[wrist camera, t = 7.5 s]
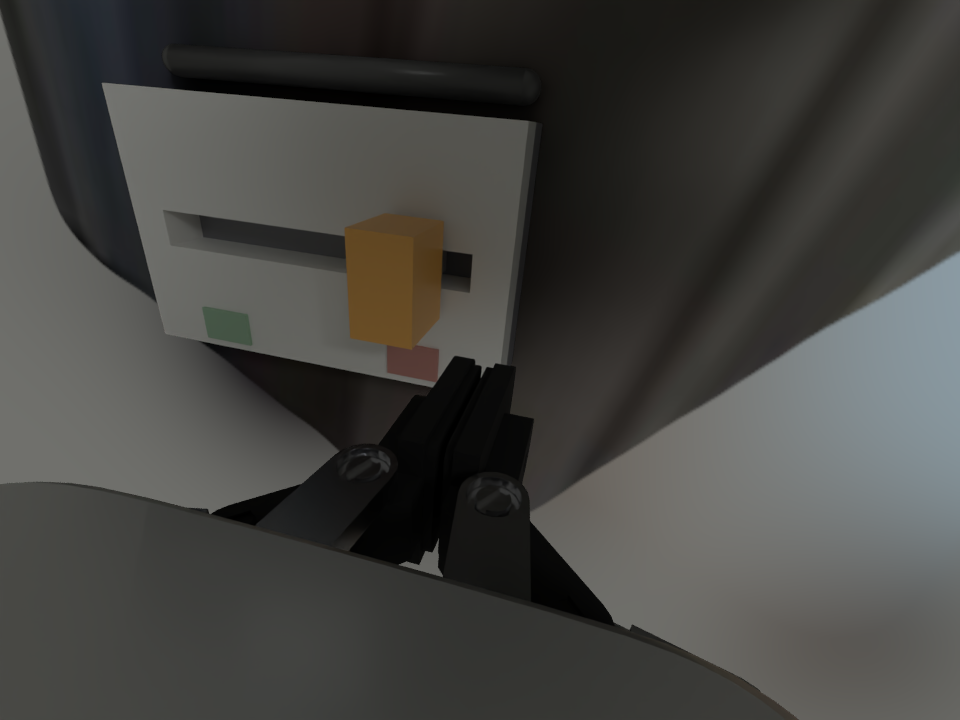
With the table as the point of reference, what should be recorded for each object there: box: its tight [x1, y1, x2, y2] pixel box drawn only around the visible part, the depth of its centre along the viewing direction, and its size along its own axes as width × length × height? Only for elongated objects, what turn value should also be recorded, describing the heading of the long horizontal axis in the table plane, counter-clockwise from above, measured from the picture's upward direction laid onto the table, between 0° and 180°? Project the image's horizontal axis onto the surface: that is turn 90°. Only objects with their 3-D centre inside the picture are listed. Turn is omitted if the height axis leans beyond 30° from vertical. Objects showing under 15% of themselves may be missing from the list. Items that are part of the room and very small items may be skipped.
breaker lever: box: [344, 213, 447, 350], centre depth 23 cm, size 3×5×6 cm, turn 175°
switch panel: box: [102, 44, 543, 387], centre depth 26 cm, size 22×16×5 cm
